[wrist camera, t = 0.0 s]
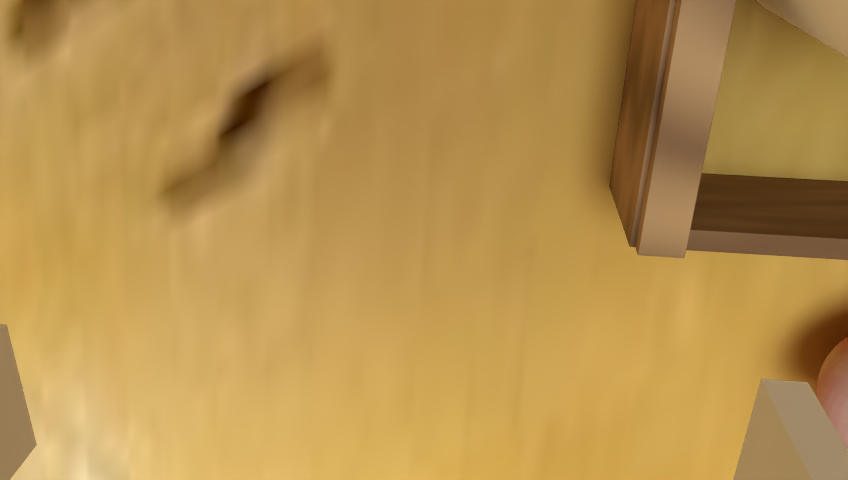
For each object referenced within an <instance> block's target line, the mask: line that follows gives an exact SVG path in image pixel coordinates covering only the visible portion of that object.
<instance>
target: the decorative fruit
mask: <svg viewBox="0 0 848 480" xmlns="http://www.w3.org/2000/svg"><path fill="white" fill-rule="evenodd" d="M816 397H817V399H818V400H819V402H820V404H821V405H822V407H823V409H824V411H825V412H826V414H827V416H828V417H829V419H830V421H831V423H832V424H833V426H834V428H835V429H836V431H837V433H838V435H839V436H840V438H841V440H842V441H843V443H844V445H845V447H846V448H847V449H848V337H847V338H845V339H844V340H842V341H841V342H840V343H839V344H838V345H836V346H835V347H834V348H833V350H832V351H831V352H830V353H829V355H828V356H827V358H826V359H825V361H824V363H823V365H822V367H821V370H820V373H819V376H818V380H817V386H816Z"/></svg>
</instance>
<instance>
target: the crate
mask: <svg viewBox="0 0 848 480" xmlns="http://www.w3.org/2000/svg"><path fill="white" fill-rule="evenodd" d="M735 4H736V0H637V1H636V7H635V14H634V21H633V28H632V35H631V42H630V49H629V55H628V62H627V69H626V76H625V83H624V90H623V97H622V103H621V110H620V117H619V124H618V131H617V138H616V145H615V152H614V158H613V165H612V172H611V179H610V186H609V187H610V190H611V192H612V195H613V198H614V201H615V204H616V207H617V210H618V213H619V216H620V219H621V222H622V225H623V228H624V231H625V234H626V237H627V240H628V243H629V246H630V247H636V250H637V253H638V255H644V256H660V257H676V258H685V253H686V250H694V251H711V252H727V253H744V254H760V255H776V256H793V257H809V258H825V259H842V260H848V182H844V181H825V180H807V179H789V178H771V177H753V176H735V175H717V174H701V173H702V168H703V163H704V158H705V153H706V148H707V143H708V138H709V133H710V128H711V124H712V119H713V114H714V109H715V104H716V99H717V94H718V89H719V84H720V79H721V74H722V69H723V64H724V59H725V54H726V49H727V44H728V39H729V34H730V29H731V24H732V19H733V14H734V9H735Z"/></svg>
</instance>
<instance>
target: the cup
mask: <svg viewBox="0 0 848 480" xmlns="http://www.w3.org/2000/svg"><path fill="white" fill-rule="evenodd" d="M756 1H757V2H758V3H759V4H760V5H761V6H763V7H764V8H765V9H767V10H768V11H770V12H772V13H773V14H775V15H777V16H778V17H780V18H782V19H783V20H785V21H787V22H788V23H790V24H792V25H793V26H795V27H797V28H799V29H800V30H802V31H804V32H805V33H807V34H809V35H810V36H812V37H814V38H815V39H817V40H819V41H820V42H822V43H824V44H825V45H827V46H829V47H830V48H832V49H834V50H835V51H837V52H839V53H840V54H842V55H844V56H845V57H847V58H848V0H756Z"/></svg>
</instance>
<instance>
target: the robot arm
mask: <svg viewBox="0 0 848 480" xmlns="http://www.w3.org/2000/svg"><path fill="white" fill-rule="evenodd" d="M36 445H37V444H36V440H35V436H34V432H33V428H32V424H31V420H30V416H29V412H28V408H27V404H26V400H25V396H24V392H23V388H22V384H21V380H20V376H19V372H18V368H17V364H16V360H15V356H14V352H13V348H12V344H11V340H10V336H9V332H8V328H7V325H4V324H0V480H10V479H11V478H12V476H13V475H14V474H15V472H16V471H17V470H18V468H19V467H20V466H21V465H22V463H23V462H24V461H25V459H26V458H27V457H28V455H29V454H30V453H31V452H32V450H33V449H34V448H35V446H36ZM733 480H848V450H847V448H846V447H845V445H844V443H843V441H842V440H841V438H840V436H839V435H838V433H837V431H836V429H835V428H834V426H833V424H832V423H831V421H830V419H829V417H828V416H827V414H826V412H825V411H824V409H823V407H822V405H821V404H820V402H819V400H818V399H817V397H816V395H815V393H814V392H813V390H812V388H811V387H810V385H809V383H808V382H799V381H785V380H771V379H761V381H760V385H759V388H758V392H757V395H756V399H755V403H754V406H753V410H752V414H751V417H750V421H749V425H748V428H747V432H746V435H745V439H744V443H743V446H742V450H741V454H740V457H739V461H738V465H737V468H736V472H735V476H734V479H733Z"/></svg>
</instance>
